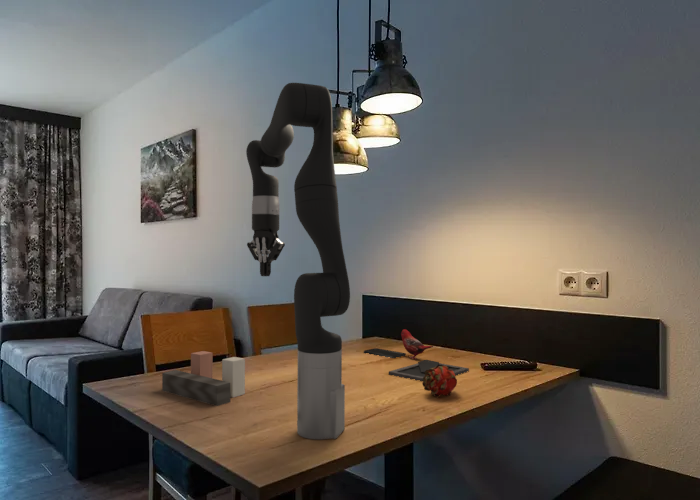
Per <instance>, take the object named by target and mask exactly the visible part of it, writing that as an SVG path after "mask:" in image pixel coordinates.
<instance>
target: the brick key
mask: <svg viewBox="0 0 700 500" xmlns="http://www.w3.org/2000/svg"><path fill="white" fill-rule="evenodd" d="M213 354H214V353H213V352H210V351H205V350H202V351H197V352H196V351H195V352H191V353H190V373H191V374H195V375H200V376H204V377H209V378H213V357H214V356H213Z"/></svg>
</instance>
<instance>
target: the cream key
mask: <svg viewBox="0 0 700 500" xmlns="http://www.w3.org/2000/svg"><path fill="white" fill-rule="evenodd" d="M221 369H222V370H221V372H222V373H221V378H222V379H221V380H222V381H226V382H230V398H236V397H239V396H242V395H245V394H246V391H245V390H246V376H245V375H246V359H245V358H242V357H239V356H238V357H237V356H232V357H231V356H230V357H228V358H223V359H222V360H221Z"/></svg>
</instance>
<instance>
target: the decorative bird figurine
mask: <svg viewBox="0 0 700 500" xmlns="http://www.w3.org/2000/svg"><path fill="white" fill-rule="evenodd" d="M400 335H401V339H402V344H403V346H404V349H405V350H406V352H407V353H408V354H410V355H412V356H409V355H408V356H407V357H408V358H410V359H411V360H415V359H416V360H418V359H417V356H418V355H420V354H422V353H424V352H425V350H428V349H431V348H434V346H433V345H424V344H423V343H422V342H421V341H419V340H418V339H417V338H415V337H414V336H412V334H411V332H410V331H408V330H407V329H406V328H405V329H402V331H401V333H400Z"/></svg>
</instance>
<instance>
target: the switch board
mask: <svg viewBox="0 0 700 500" xmlns="http://www.w3.org/2000/svg"><path fill="white" fill-rule="evenodd" d="M161 379H162V381H161V383H162V385H161V387H162V388H161V389H162V392H164V393H168V394H172V395H176V396H179V397H181V398H182V397H183V398H186V399H190V400H194V401H197V402H201V403H204V404H208V405H212V406H215V407H219V406H222V405H226V404H230V403H231V397H230V382H226V381H222V379H216V378H213V377H212V378H209V377H204V376H200V375H195V374H191V372H186V371H183V370H182V371H181V370H176V369H175V370H174V369H173V370H169V371H164V372H162V378H161Z"/></svg>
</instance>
